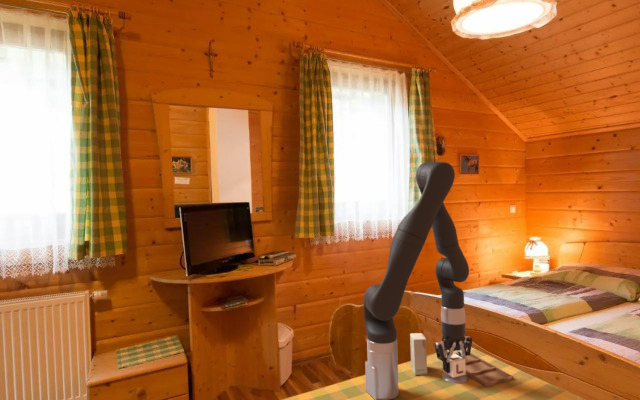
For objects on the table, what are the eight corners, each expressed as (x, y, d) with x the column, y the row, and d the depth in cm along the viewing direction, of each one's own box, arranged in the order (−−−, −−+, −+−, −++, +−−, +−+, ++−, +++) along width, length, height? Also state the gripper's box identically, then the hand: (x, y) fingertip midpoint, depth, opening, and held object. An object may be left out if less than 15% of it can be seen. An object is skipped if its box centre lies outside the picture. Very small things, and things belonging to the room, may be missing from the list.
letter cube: (453, 377, 126) (453, 362, 126) (443, 370, 131) (442, 355, 131) (465, 374, 128) (465, 359, 128) (455, 367, 133) (454, 353, 133)
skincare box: (427, 375, 132) (426, 339, 132) (414, 375, 132) (413, 340, 132) (423, 366, 139) (422, 332, 138) (410, 366, 139) (409, 332, 138)
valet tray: (486, 387, 123) (486, 383, 123) (441, 359, 144) (441, 356, 144) (513, 380, 127) (513, 376, 127) (465, 353, 148) (465, 350, 148)
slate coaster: (452, 386, 125) (452, 384, 125) (436, 375, 132) (436, 373, 132) (472, 381, 128) (472, 379, 127) (455, 370, 135) (455, 368, 135)
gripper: (442, 326, 123) (443, 380, 124) (478, 319, 128) (479, 370, 129) (427, 319, 130) (428, 369, 131) (462, 312, 135) (463, 361, 136)
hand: (454, 370), depth 130 cm, fingers closed on letter cube, 5 cm apart
